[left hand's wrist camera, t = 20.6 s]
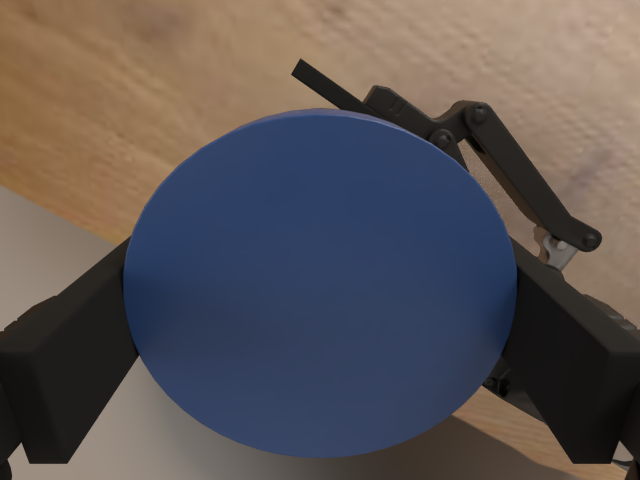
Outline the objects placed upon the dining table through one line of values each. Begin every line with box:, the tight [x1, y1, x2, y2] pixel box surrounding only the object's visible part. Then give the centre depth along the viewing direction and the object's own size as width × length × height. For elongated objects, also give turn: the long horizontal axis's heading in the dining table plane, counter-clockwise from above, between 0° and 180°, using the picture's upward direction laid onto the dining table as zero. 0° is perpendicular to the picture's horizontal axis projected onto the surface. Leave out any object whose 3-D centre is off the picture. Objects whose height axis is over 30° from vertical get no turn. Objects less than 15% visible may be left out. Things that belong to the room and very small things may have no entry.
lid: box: [123, 109, 517, 458], centre depth 11 cm, size 10×10×2 cm
